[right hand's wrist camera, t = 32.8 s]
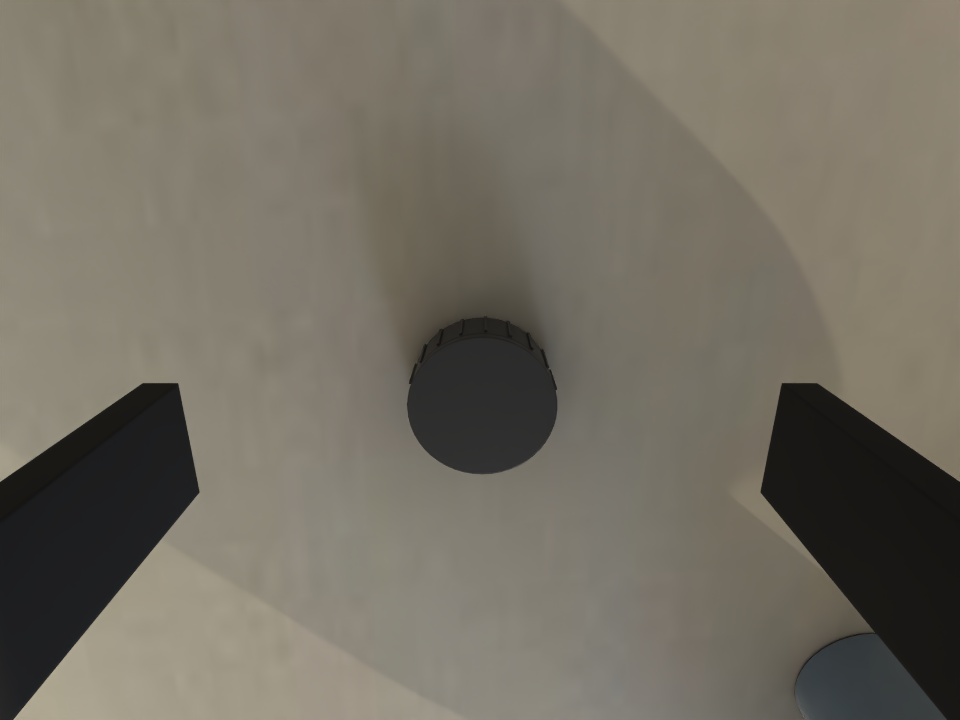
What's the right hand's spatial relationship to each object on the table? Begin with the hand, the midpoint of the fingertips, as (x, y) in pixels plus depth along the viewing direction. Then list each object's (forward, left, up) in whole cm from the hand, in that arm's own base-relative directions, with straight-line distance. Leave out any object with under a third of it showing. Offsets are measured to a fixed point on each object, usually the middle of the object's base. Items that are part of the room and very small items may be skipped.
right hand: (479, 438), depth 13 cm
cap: (0, 0, -3) cm, 3 cm away
